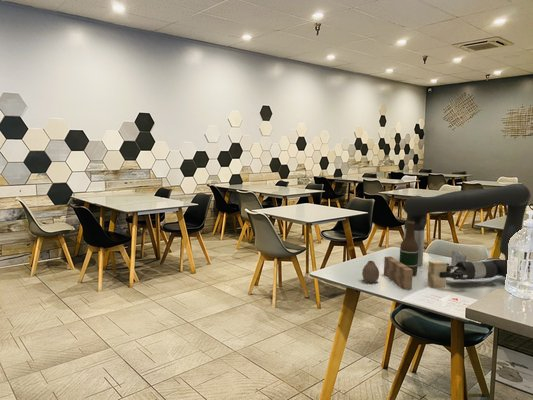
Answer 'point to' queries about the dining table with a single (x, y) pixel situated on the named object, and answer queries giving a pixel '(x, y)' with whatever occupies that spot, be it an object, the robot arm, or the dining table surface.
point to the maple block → (436, 274)
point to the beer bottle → (409, 249)
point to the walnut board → (398, 272)
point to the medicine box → (457, 257)
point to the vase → (370, 272)
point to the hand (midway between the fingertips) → (434, 271)
